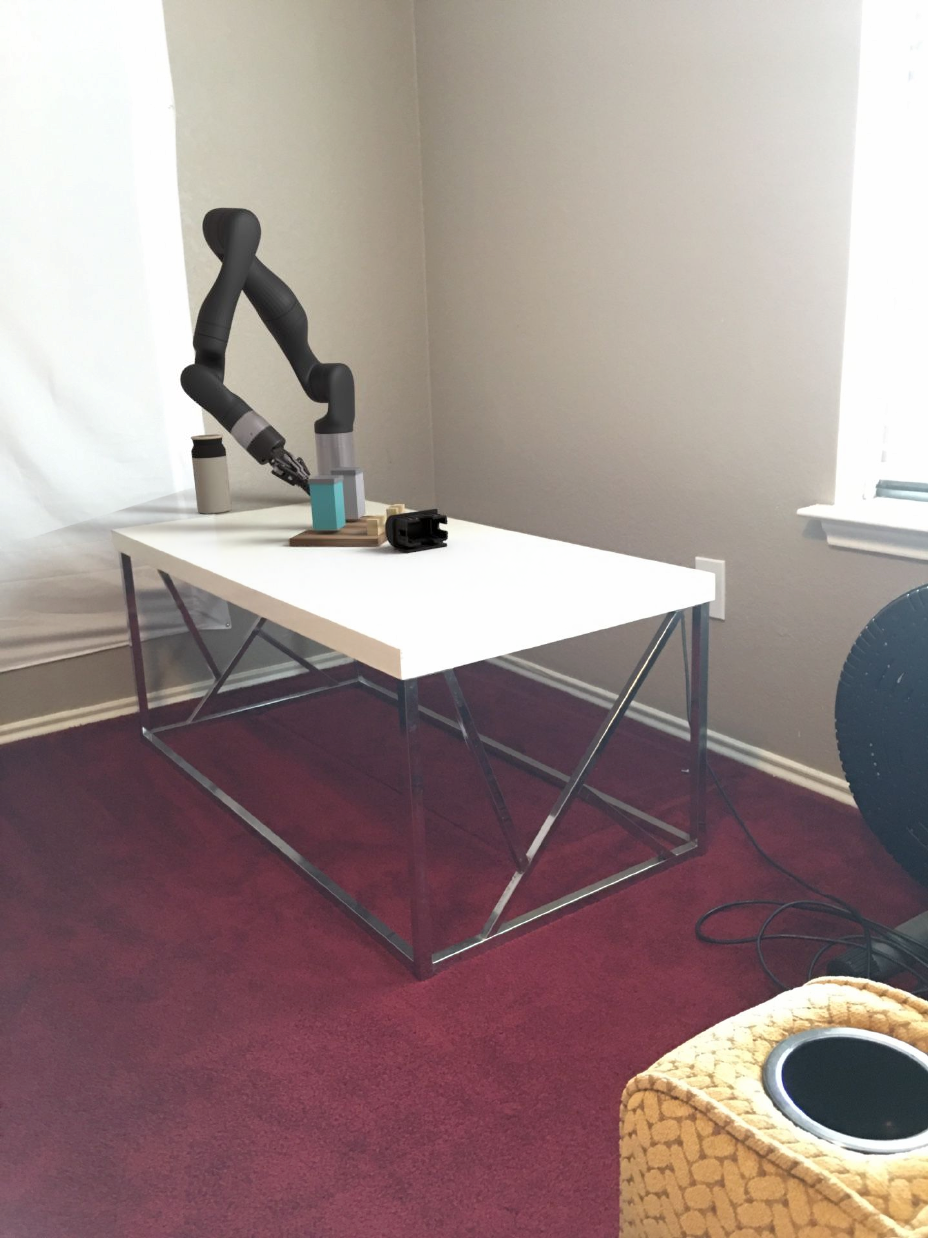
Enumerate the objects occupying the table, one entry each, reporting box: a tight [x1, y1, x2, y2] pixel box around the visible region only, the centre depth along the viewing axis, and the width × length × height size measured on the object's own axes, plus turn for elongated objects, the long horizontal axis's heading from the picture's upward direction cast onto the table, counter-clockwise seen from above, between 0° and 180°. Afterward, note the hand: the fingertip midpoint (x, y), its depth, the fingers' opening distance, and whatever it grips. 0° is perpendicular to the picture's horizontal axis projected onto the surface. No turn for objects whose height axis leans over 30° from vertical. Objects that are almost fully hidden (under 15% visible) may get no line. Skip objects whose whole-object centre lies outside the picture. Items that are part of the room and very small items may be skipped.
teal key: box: [308, 474, 346, 530], centre depth 204 cm, size 5×5×10 cm
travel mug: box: [190, 433, 233, 515], centre depth 246 cm, size 8×8×18 cm
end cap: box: [385, 508, 449, 554], centre depth 194 cm, size 10×7×7 cm
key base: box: [288, 503, 406, 548], centre depth 211 cm, size 26×18×4 cm
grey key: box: [331, 466, 367, 518], centre depth 216 cm, size 5×5×10 cm
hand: (317, 494), depth 218 cm, fingers closed
